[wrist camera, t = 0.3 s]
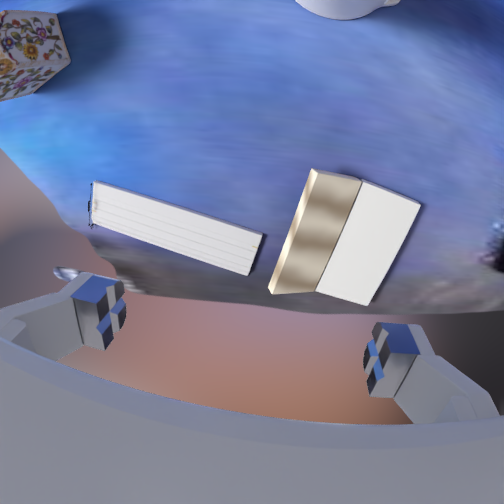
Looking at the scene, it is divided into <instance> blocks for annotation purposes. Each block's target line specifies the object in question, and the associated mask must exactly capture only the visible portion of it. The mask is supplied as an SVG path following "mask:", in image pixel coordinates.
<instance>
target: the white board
mask: <svg viewBox="0 0 504 504" xmlns="http://www.w3.org/2000/svg"><path fill="white" fill-rule="evenodd" d="M361 181H362V183H361V185H360V188H359V190H358V193H357V195H356V198H355V200H354V202H353V205H352V207H351V210H350V212H349V214H348V217H347V219H346V221H345V224H344V226H343V228H342V231H341V233H340V235H339V237H338V240H337V242H336V244H335V246H334V249H333V251H332V253H331V255H330V257H329V260H328V262H327V264H326V266H325V268H324V271H323V273H322V275H321V277H320V279H319V281H318V283H317V285H316V288H315V291H317V292H321V293H324V294H327V295H331V296H334V297H338V298H341V299H345V300H348V301H352V302H355V303H359V304H362V305H366V306H368V304H369V302H370V301H371V299H372V297H373V296H374V294H375V292H376V290H377V289H378V287H379V285H380V283H381V282H382V280H383V278H384V276H385V275H386V273H387V271H388V269H389V267H390V265H391V264H392V262H393V260H394V258H395V256H396V254H397V252H398V250H399V249H400V247H401V245H402V243H403V241H404V239H405V237H406V235H407V233H408V231H409V229H410V227H411V225H412V223H413V221H414V219H415V217H416V215H417V213H418V210H419V208H420V206H421V205H420V204H419V202H418V201H415V200H413V199H411V198H408V197H406V196H404V195H401V194H399V193H396V192H394V191H392V190H389V189H387V188H384V187H382V186H379V185H377V184H374V183H371V182H369V181H366V180H364V179H361Z"/></svg>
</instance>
